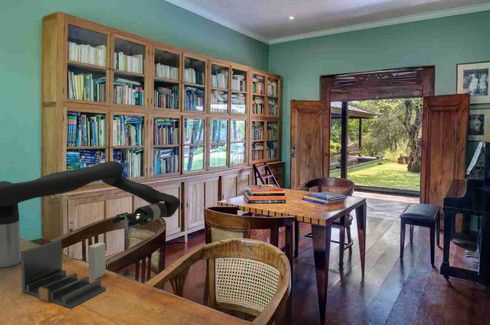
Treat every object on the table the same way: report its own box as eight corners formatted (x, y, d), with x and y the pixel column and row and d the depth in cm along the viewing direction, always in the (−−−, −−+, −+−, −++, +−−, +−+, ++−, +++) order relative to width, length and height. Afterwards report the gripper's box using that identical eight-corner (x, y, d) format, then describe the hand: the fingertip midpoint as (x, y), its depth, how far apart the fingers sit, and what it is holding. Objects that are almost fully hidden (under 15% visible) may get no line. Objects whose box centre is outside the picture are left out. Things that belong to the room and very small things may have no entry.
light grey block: (89, 277, 131) (88, 246, 130) (99, 272, 135) (99, 242, 134) (95, 279, 130) (94, 247, 128) (105, 274, 134) (105, 243, 133)
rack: (20, 292, 118) (18, 252, 116) (59, 276, 131) (58, 239, 130) (69, 309, 108) (68, 265, 107) (106, 290, 121) (105, 250, 120)
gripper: (135, 203, 159) (107, 211, 144) (160, 207, 153) (134, 215, 138) (135, 220, 160) (107, 229, 145) (160, 224, 154) (134, 234, 139)
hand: (120, 222), depth 142 cm, fingers open, 8 cm apart
